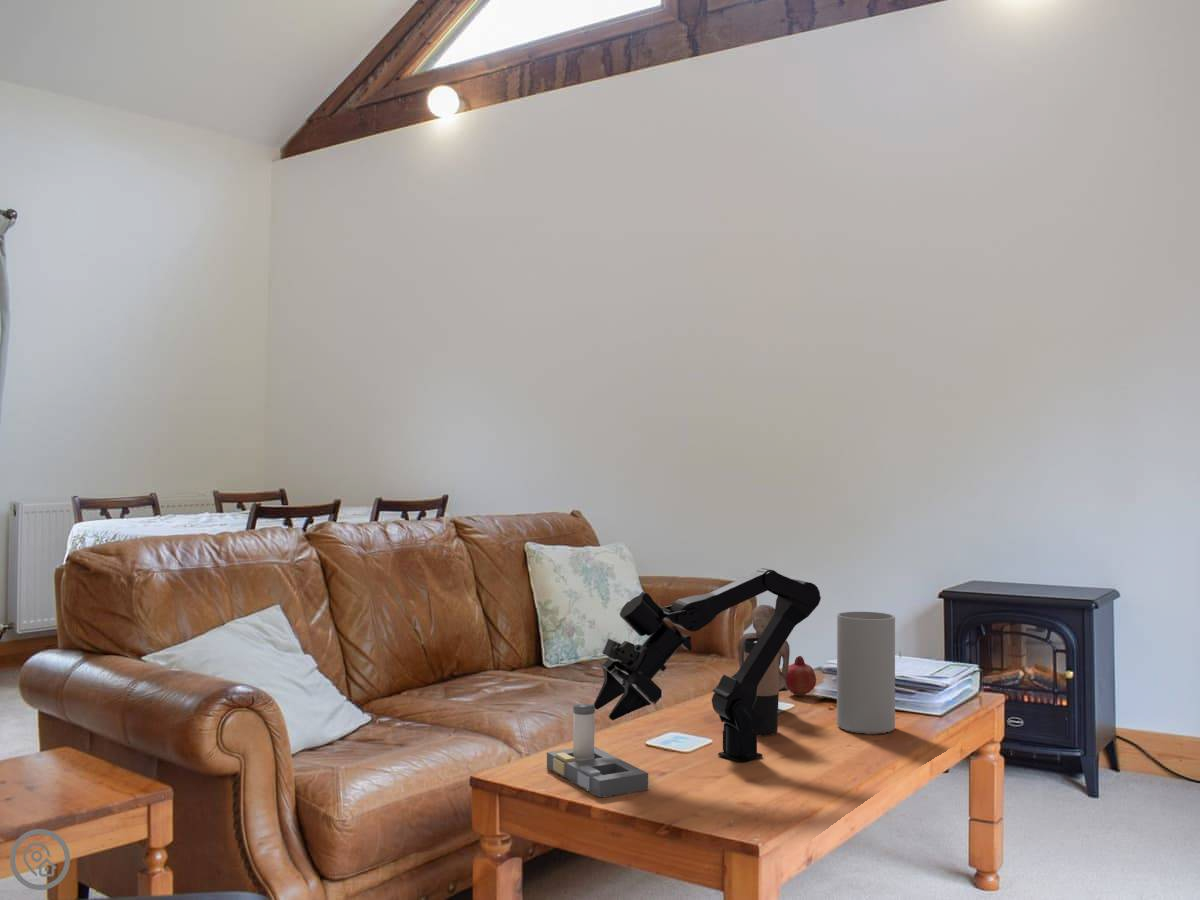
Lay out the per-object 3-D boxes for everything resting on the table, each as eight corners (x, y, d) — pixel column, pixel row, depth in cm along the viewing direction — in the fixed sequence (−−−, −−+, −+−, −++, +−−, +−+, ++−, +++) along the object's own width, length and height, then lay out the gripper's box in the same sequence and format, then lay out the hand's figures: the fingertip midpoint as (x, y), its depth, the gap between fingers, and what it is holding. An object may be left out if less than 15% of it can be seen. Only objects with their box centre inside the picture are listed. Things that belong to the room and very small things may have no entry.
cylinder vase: (874, 719, 245) (874, 610, 246) (906, 732, 234) (906, 618, 234) (826, 723, 241) (826, 612, 242) (856, 737, 230) (856, 620, 230)
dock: (648, 789, 192) (648, 770, 192) (597, 798, 187) (597, 778, 187) (592, 761, 210) (592, 743, 210) (545, 768, 205) (545, 749, 205)
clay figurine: (730, 711, 253) (730, 605, 253) (743, 702, 262) (743, 600, 262) (784, 717, 247) (784, 609, 248) (795, 708, 256) (795, 603, 257)
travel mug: (739, 734, 232) (739, 641, 232) (748, 726, 239) (748, 636, 239) (774, 737, 229) (774, 644, 229) (782, 729, 236) (782, 638, 236)
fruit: (819, 699, 266) (819, 659, 267) (786, 699, 266) (786, 659, 266) (812, 692, 275) (812, 653, 275) (780, 692, 274) (780, 653, 274)
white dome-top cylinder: (598, 770, 204) (598, 704, 204) (587, 776, 200) (587, 709, 200) (580, 767, 206) (580, 702, 206) (568, 772, 202) (569, 706, 203)
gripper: (612, 617, 215) (559, 676, 212) (645, 631, 198) (589, 695, 194) (648, 654, 218) (597, 712, 214) (685, 671, 200) (630, 735, 196)
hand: (602, 713), depth 205 cm, fingers open, 9 cm apart
